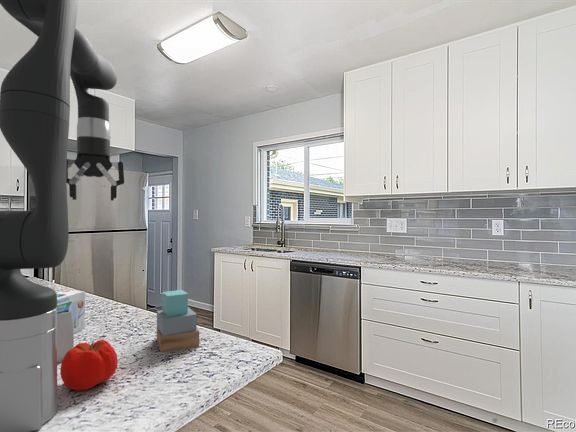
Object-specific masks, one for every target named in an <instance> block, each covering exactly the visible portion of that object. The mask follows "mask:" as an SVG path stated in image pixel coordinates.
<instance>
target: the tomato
mask: <svg viewBox="0 0 576 432" xmlns="http://www.w3.org/2000/svg"><path fill="white" fill-rule="evenodd" d="M118 362H119V360H118V355H117V352H116V350H115V348H113V347H112V345H111V343H109V342H108V340H105V339H100V340H97V341H95V342H94V341H92V342H91V344H89V343H88V342H80V343H78V344H75V346H74V348H73V349H70V350H69V351H68V352H67V353H66V354H65V356H64V358H63V360H61V364H60V371H59V372H60V378H61V381H62V383H63V384H64V386H65V387H66V388H68V389H72V390H74V391H87V390H89V389H92V388H93V387H95V386H97V385H98V384H102V383H105V382H106V381H108V380H109V379H110V378H112V377H113V375H114V374H115V372H116V370H117V368H118V364H119V363H118ZM110 380H111V379H110Z"/></svg>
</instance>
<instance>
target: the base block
mask: <svg viewBox="0 0 576 432" xmlns="http://www.w3.org/2000/svg"><path fill="white" fill-rule="evenodd" d="M198 328H199V327H197V330H195V331H190V332H184V333H179V334H173V335H168V336H162V334H161V332H160V331H159V329H158V328H157V327H156V342H157V346H158V348H159V351H160V353H166V352H171V351H177V350H183V349H189V348H194V347H199V346H200V329H198Z"/></svg>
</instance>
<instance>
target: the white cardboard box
mask: <svg viewBox="0 0 576 432" xmlns="http://www.w3.org/2000/svg"><path fill="white" fill-rule="evenodd" d="M74 334H75V333H74V331H73V324H72V316H71V312H66V313H61V314H57V362H60V361H61V362H62V361H63V358H64V356H65V354H66V353H67V352H68V351H69V350H70V349H73V348H74V347H75V346H74V337H75V335H74Z"/></svg>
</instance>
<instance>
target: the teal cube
mask: <svg viewBox="0 0 576 432" xmlns="http://www.w3.org/2000/svg"><path fill="white" fill-rule="evenodd" d="M188 304H189V293H188V292H187V291H185V290H183V289H178V290H177V289H176V290H169V291H162V292H161V310H162V312H163V313H164V314H165V315H166V316H167V317H169V316H175V315H182V314H188V307H189V305H188Z"/></svg>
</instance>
